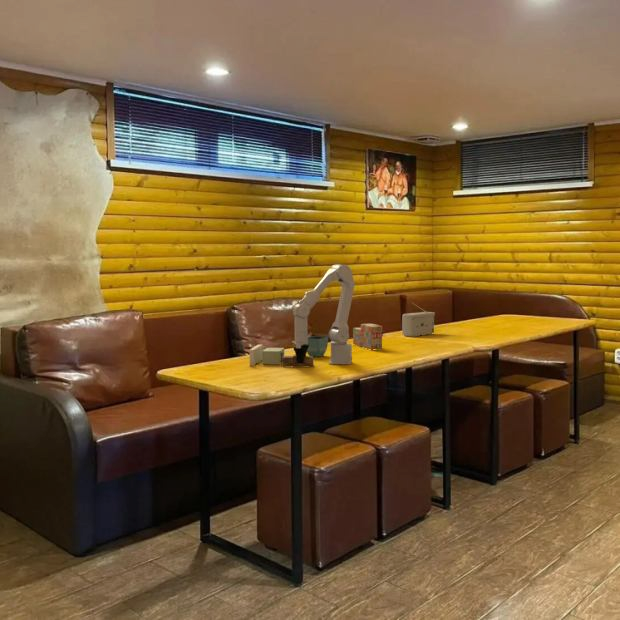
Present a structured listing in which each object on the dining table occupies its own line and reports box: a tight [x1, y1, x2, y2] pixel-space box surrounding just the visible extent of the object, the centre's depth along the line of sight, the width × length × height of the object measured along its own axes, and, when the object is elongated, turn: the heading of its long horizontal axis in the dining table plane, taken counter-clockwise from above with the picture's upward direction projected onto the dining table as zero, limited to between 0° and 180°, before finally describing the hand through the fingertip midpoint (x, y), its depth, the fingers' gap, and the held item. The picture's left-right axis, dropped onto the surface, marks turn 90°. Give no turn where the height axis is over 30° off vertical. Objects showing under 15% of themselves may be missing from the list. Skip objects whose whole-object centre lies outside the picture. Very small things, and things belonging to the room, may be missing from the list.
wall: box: [249, 344, 263, 366], centre depth 303 cm, size 2×16×7 cm, turn 170°
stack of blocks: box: [352, 323, 383, 351], centre depth 345 cm, size 21×6×12 cm, turn 22°
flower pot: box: [305, 335, 329, 358], centre depth 318 cm, size 9×9×9 cm
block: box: [261, 347, 285, 365], centre depth 302 cm, size 8×10×6 cm
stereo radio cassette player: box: [401, 302, 436, 338], centre depth 390 cm, size 21×8×20 cm, turn 129°
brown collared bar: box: [281, 353, 315, 368], centre depth 293 cm, size 13×7×5 cm, turn 81°
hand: (301, 362), depth 293 cm, fingers closed on brown collared bar, 4 cm apart
